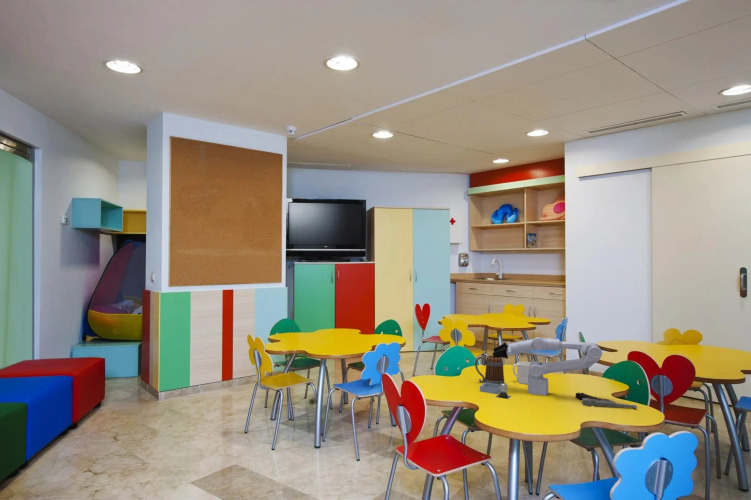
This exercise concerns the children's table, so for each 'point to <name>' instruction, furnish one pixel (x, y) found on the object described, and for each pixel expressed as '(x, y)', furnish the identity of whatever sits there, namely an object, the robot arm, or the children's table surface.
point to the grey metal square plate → (502, 397)
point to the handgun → (600, 401)
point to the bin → (490, 388)
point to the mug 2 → (522, 372)
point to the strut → (503, 390)
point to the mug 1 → (492, 370)
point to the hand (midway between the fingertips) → (493, 352)
